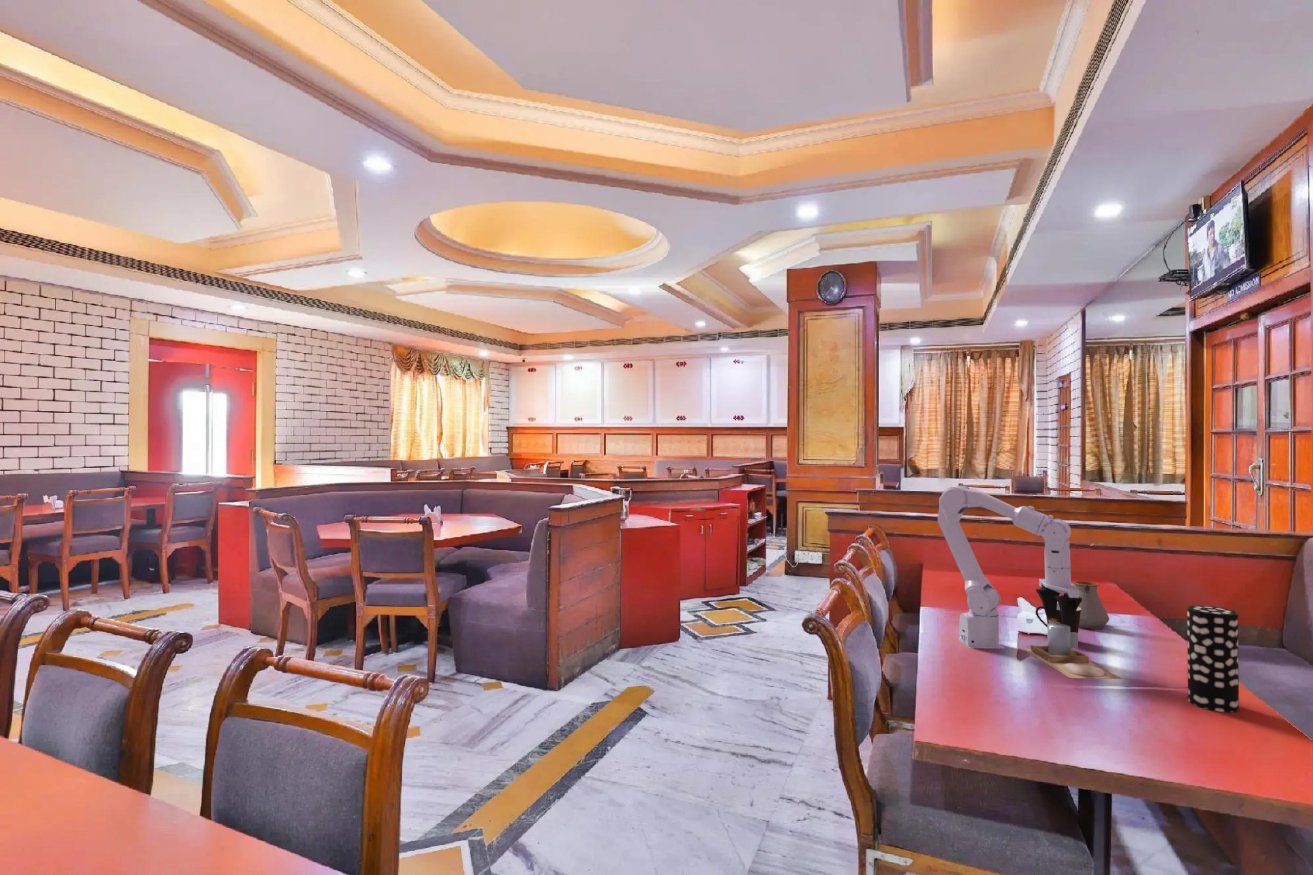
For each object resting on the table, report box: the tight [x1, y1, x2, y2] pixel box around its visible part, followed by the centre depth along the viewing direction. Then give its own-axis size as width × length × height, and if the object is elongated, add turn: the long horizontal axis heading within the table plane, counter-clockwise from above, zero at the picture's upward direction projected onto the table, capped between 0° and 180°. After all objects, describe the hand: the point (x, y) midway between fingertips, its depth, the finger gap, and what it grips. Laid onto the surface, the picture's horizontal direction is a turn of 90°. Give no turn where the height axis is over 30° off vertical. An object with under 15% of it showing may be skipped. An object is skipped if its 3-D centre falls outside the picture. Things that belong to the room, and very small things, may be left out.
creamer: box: [1046, 623, 1079, 655], centre depth 171 cm, size 7×5×8 cm
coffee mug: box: [1035, 602, 1081, 634], centre depth 187 cm, size 12×9×10 cm
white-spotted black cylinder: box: [1186, 604, 1240, 713], centre depth 142 cm, size 8×8×20 cm
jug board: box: [1022, 644, 1123, 680], centre depth 167 cm, size 12×22×2 cm, turn 178°
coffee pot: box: [1072, 580, 1110, 630], centre depth 199 cm, size 21×12×15 cm, turn 148°
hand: (1059, 620), depth 171 cm, fingers open, 7 cm apart
